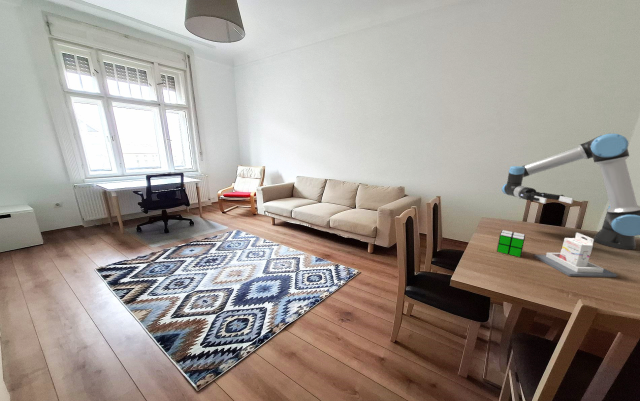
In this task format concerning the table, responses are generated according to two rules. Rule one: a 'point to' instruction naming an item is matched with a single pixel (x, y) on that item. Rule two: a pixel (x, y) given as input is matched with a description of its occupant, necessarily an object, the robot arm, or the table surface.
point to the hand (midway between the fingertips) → (558, 201)
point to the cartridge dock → (574, 267)
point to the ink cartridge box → (577, 250)
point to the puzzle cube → (511, 243)
